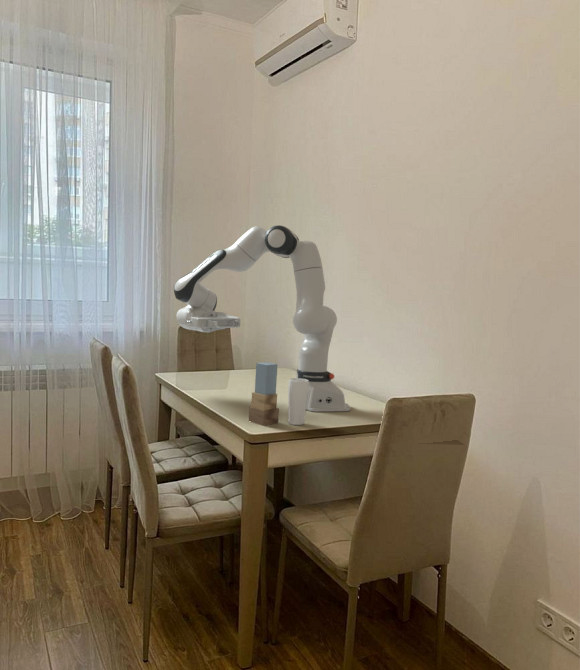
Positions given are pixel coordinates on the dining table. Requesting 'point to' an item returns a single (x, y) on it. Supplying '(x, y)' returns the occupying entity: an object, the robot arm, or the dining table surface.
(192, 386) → the dining table surface
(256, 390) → the pillar
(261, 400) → the tower top
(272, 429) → the dining table surface
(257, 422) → the tower base
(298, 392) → the drinking glass
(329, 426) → the dining table surface
